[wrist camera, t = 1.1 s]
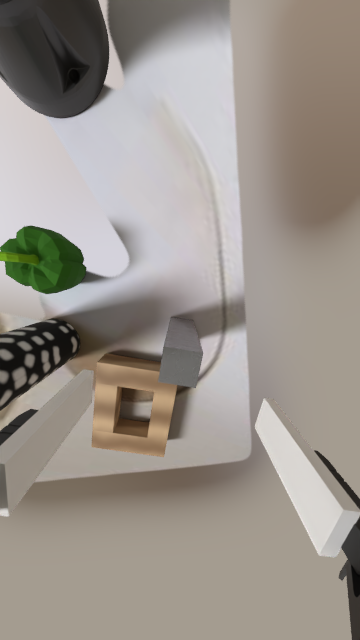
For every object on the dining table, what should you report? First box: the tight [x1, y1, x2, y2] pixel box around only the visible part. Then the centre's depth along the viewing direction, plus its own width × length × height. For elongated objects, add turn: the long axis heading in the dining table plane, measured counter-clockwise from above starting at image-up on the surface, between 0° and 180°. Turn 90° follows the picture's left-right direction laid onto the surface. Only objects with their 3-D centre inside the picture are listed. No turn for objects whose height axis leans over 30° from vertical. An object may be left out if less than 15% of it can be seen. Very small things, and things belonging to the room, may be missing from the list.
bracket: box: [158, 317, 203, 388], centre depth 25 cm, size 7×4×14 cm, turn 170°
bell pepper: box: [0, 226, 86, 294], centre depth 24 cm, size 8×8×10 cm
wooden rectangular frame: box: [92, 354, 177, 457], centre depth 33 cm, size 18×14×4 cm
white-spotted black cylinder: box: [0, 319, 80, 410], centre depth 22 cm, size 8×8×20 cm
